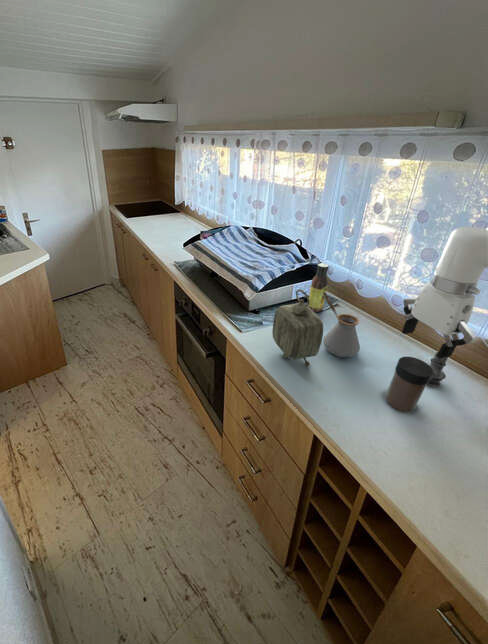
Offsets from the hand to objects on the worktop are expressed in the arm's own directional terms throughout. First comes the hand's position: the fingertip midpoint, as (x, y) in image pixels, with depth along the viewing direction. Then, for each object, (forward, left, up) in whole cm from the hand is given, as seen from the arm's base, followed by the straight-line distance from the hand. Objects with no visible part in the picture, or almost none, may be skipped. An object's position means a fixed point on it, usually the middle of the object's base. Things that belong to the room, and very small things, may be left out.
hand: (424, 344), depth 76 cm
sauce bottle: (+19, -46, -21) cm, 54 cm away
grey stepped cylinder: (-11, -11, -21) cm, 26 cm away
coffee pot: (+15, -24, -21) cm, 35 cm away
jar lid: (0, 0, -8) cm, 8 cm away
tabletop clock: (+29, -12, -21) cm, 37 cm away
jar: (0, 0, -20) cm, 20 cm away
